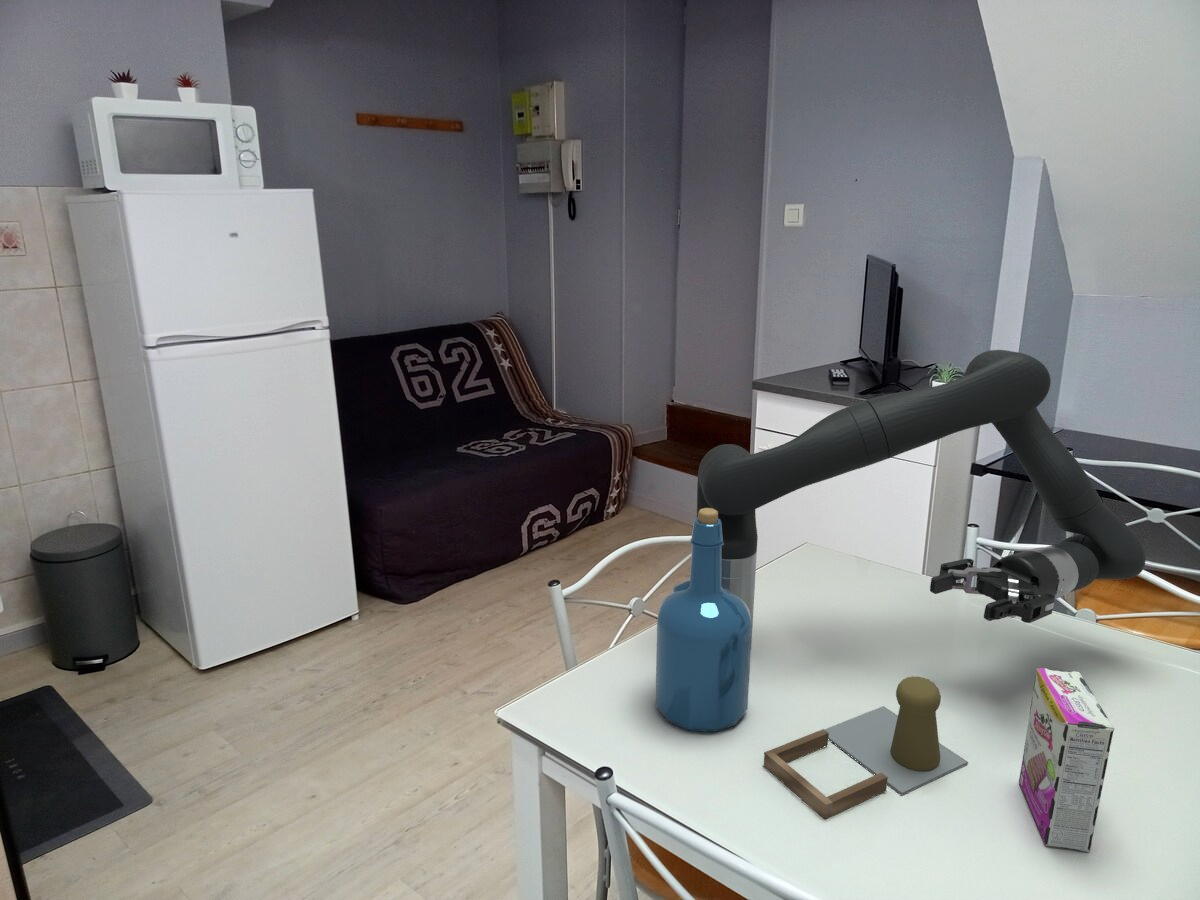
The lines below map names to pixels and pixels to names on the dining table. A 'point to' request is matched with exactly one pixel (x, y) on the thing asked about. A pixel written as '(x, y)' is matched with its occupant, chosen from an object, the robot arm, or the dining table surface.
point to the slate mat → (886, 750)
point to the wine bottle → (703, 641)
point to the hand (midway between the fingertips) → (958, 599)
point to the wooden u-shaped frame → (805, 790)
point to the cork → (916, 725)
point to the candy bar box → (1065, 759)
